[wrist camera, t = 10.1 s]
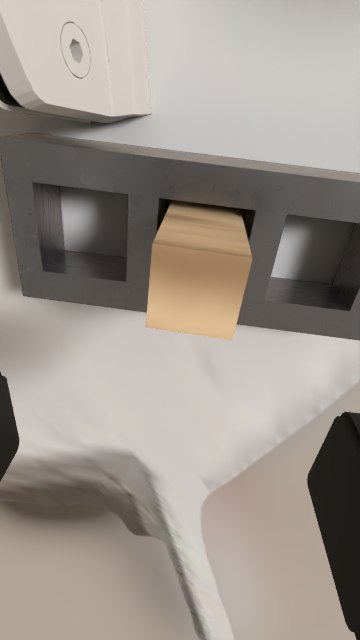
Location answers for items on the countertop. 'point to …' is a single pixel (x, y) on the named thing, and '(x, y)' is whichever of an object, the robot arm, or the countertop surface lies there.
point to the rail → (148, 213)
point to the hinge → (74, 59)
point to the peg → (198, 270)
